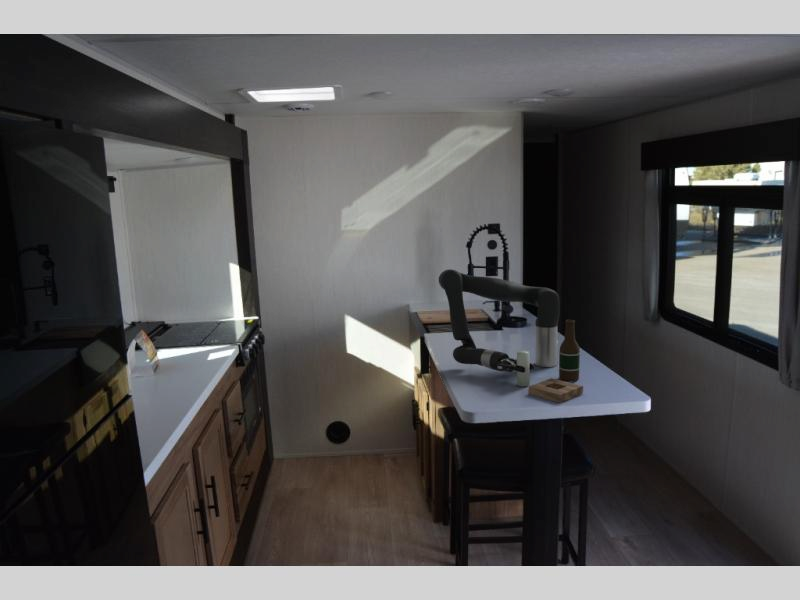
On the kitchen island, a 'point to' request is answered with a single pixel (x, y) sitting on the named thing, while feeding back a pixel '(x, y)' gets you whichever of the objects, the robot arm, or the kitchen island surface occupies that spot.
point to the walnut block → (556, 390)
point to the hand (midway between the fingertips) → (528, 368)
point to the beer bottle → (569, 355)
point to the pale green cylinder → (524, 361)
